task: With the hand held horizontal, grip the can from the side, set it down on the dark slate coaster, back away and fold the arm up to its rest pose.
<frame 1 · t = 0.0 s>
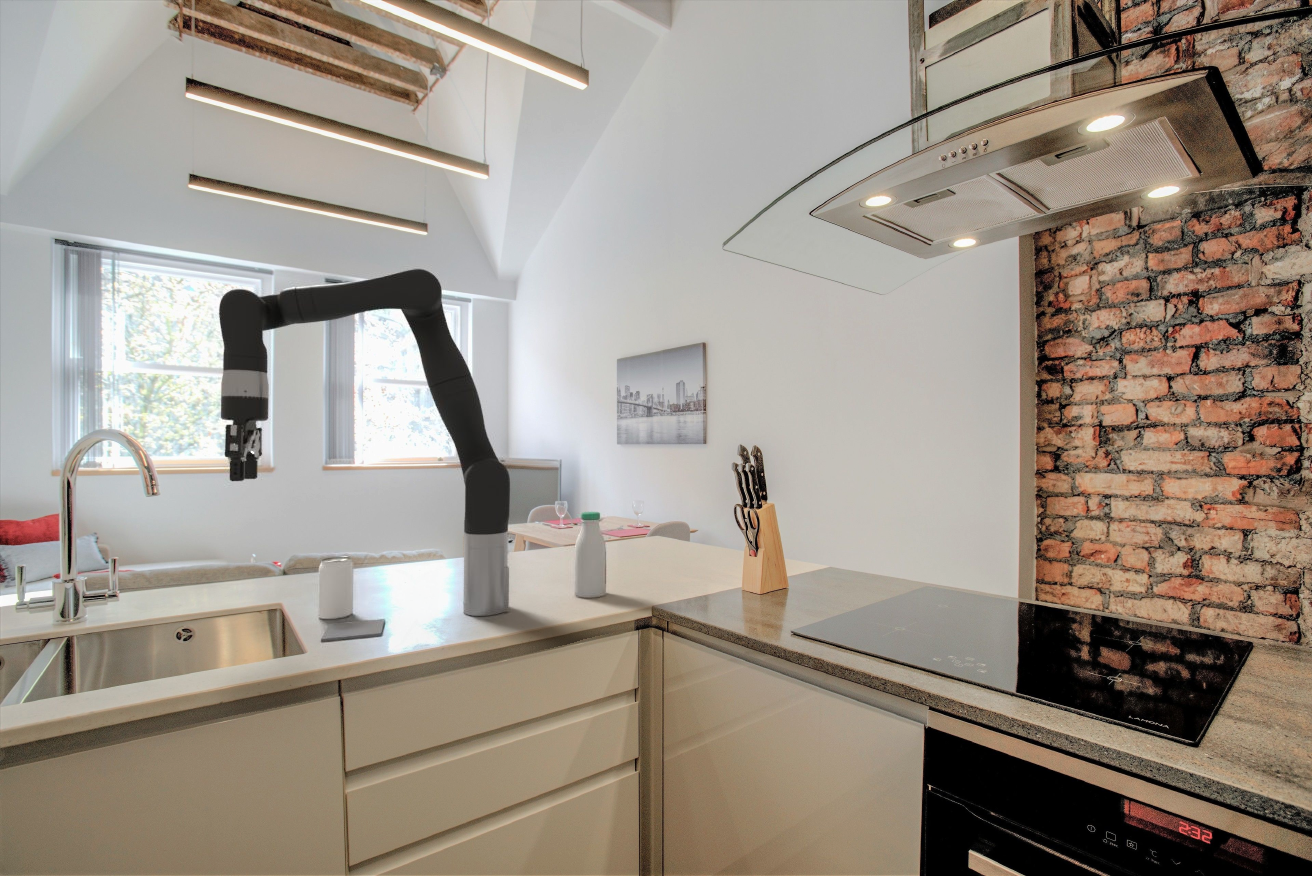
hand: (244, 480, 114), 29 cm above the worktop, tool pointing down, fingers open, 8 cm apart
milk bottle: (590, 595, 144), on the worktop
can: (335, 616, 125), on the worktop
coaster: (354, 630, 115), on the worktop
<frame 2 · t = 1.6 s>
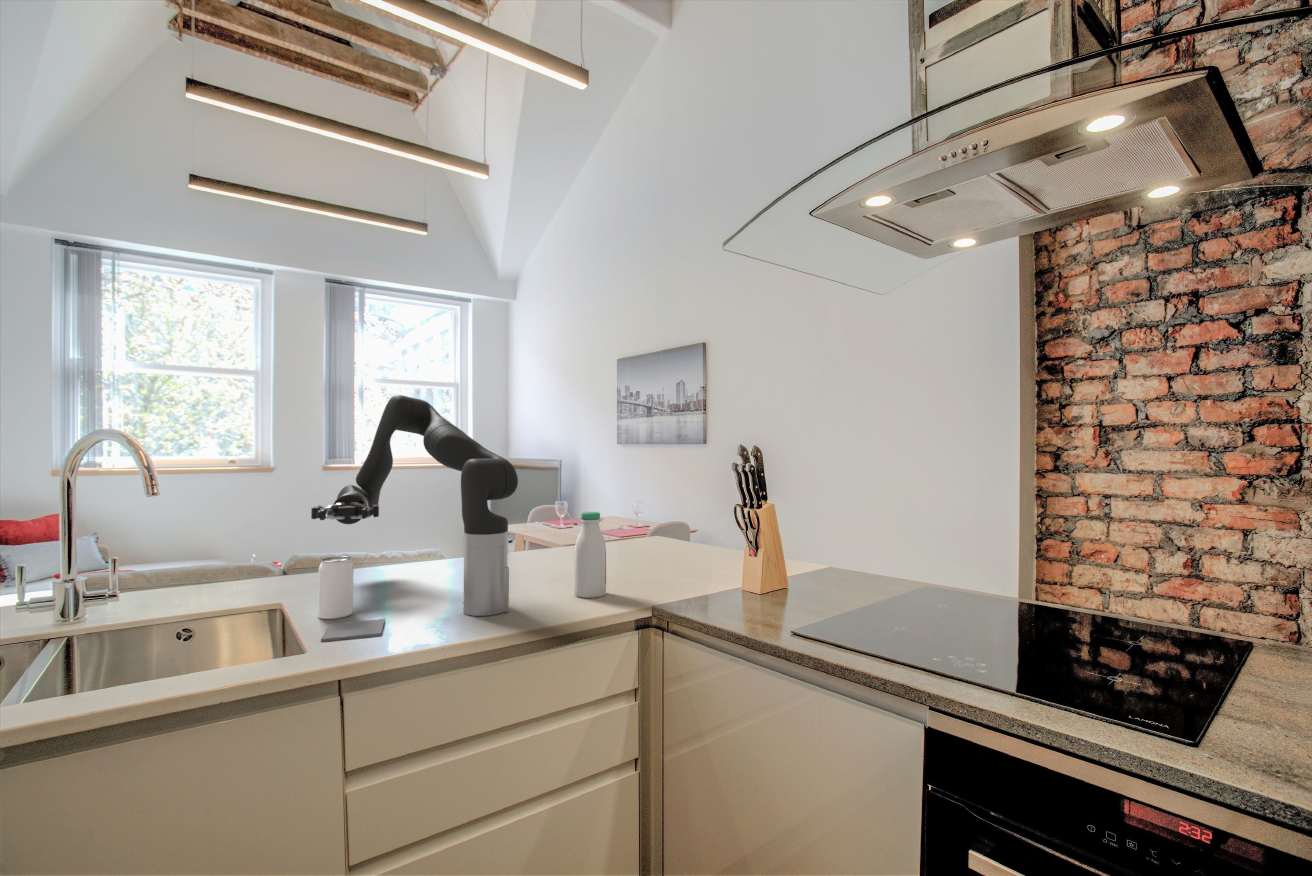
hand: (343, 514, 135), 20 cm above the worktop, tool horizontal, fingers open, 8 cm apart
nothing on the worktop moved.
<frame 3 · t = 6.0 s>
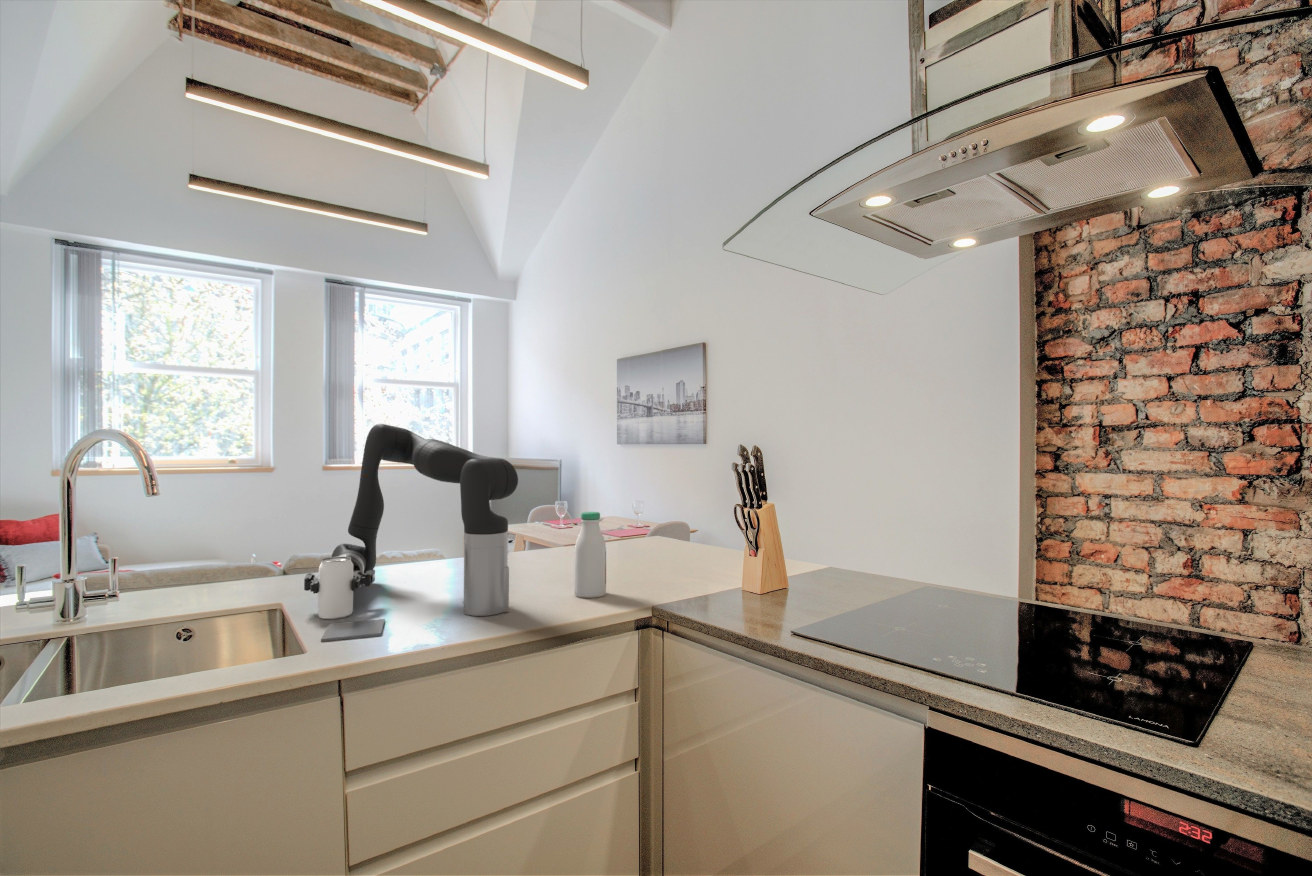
hand: (334, 587, 123), 7 cm above the worktop, tool horizontal, fingers closed on can, 6 cm apart
can: (335, 616, 125), on the worktop, touching gripper
everything else where it was.
when the fingers open (8 cm above the worktop, at t = 11.0 s): can stays where it is, resting on coaster.
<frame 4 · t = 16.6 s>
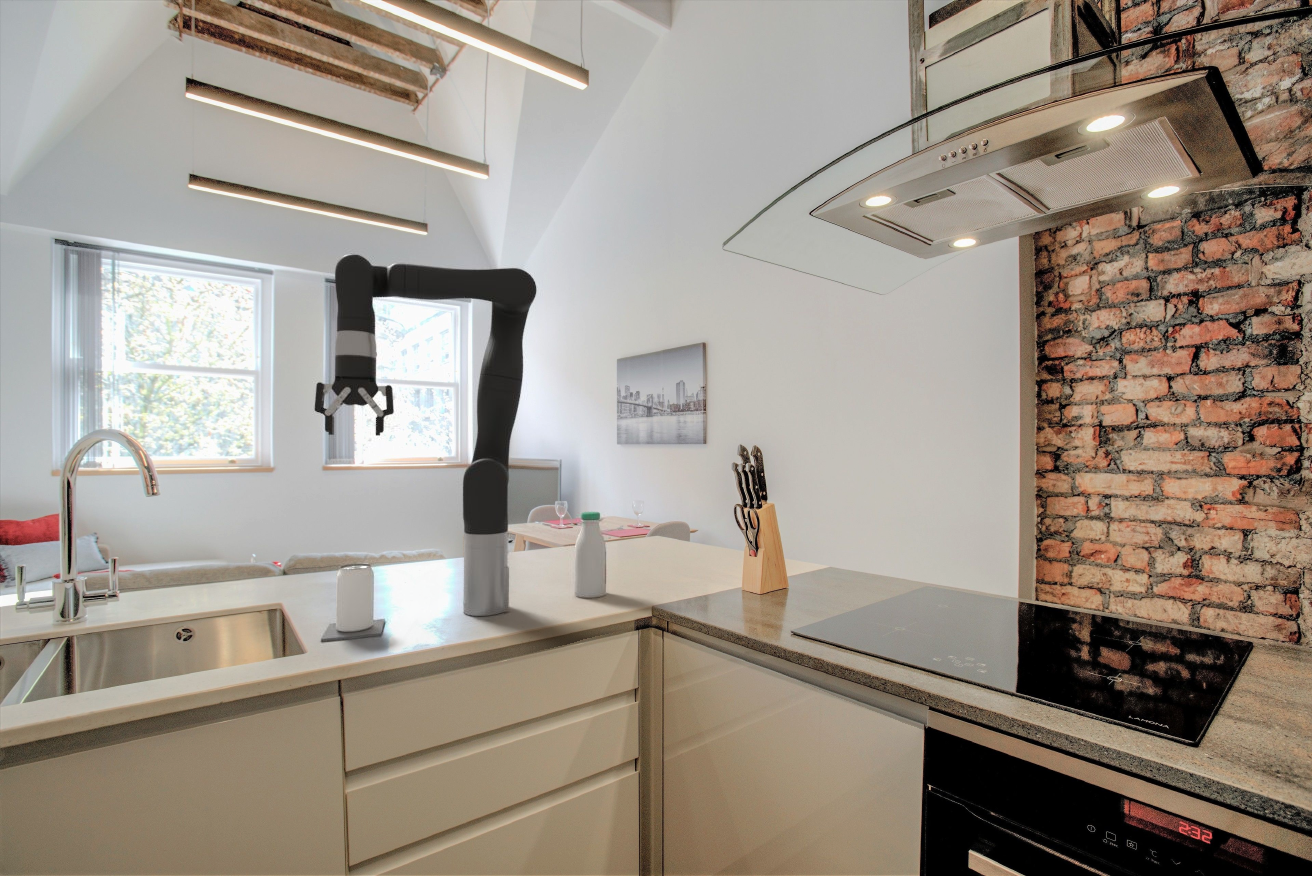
hand: (355, 435, 121), 38 cm above the worktop, tool pointing down, fingers open, 8 cm apart
can: (354, 629, 115), resting on coaster
everything else where it was.
at the end: can 0.2 cm from the coaster (horizontally); can tilted 0°; the gripper is holding nothing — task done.
